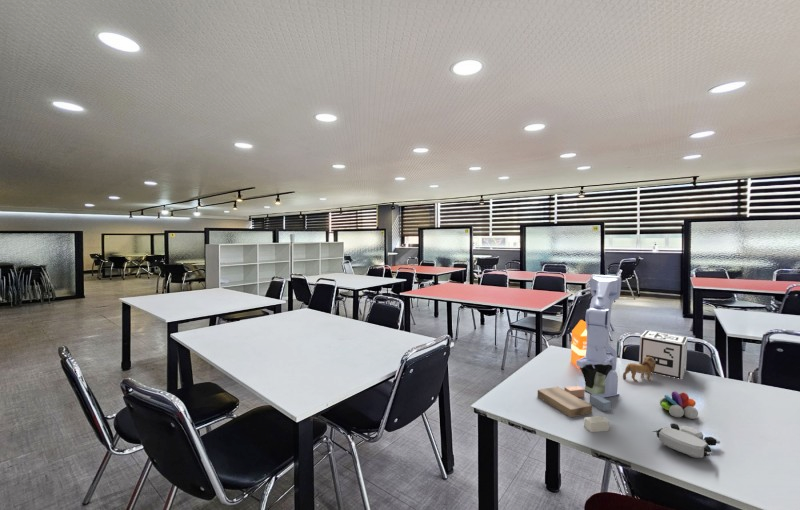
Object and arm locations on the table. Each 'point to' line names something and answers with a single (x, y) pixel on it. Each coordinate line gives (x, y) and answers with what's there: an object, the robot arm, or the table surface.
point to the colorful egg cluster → (679, 405)
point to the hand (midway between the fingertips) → (594, 385)
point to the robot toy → (686, 440)
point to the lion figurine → (641, 368)
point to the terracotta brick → (575, 391)
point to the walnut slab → (565, 401)
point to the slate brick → (600, 402)
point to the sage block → (597, 384)
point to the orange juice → (578, 342)
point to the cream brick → (596, 424)
